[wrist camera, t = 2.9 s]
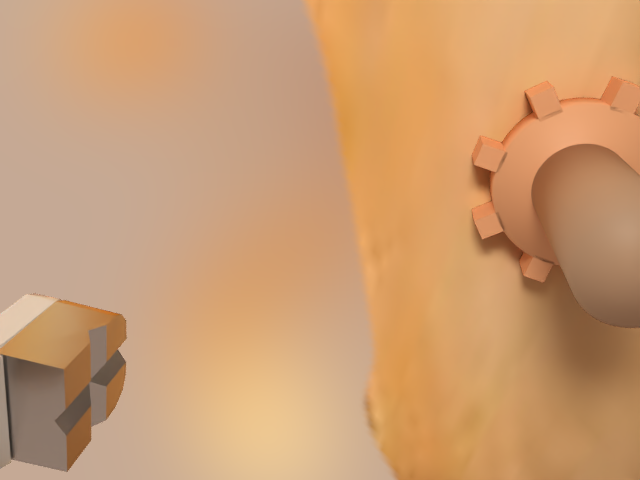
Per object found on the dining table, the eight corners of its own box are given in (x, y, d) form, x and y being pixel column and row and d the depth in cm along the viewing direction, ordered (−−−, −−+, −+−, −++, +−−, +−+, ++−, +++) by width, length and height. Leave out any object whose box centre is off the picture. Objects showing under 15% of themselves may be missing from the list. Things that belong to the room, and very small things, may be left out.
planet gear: (436, 131, 35) (438, 201, 24) (646, 34, 31) (763, 64, 20) (512, 296, 38) (544, 425, 27) (710, 226, 34) (841, 342, 23)
